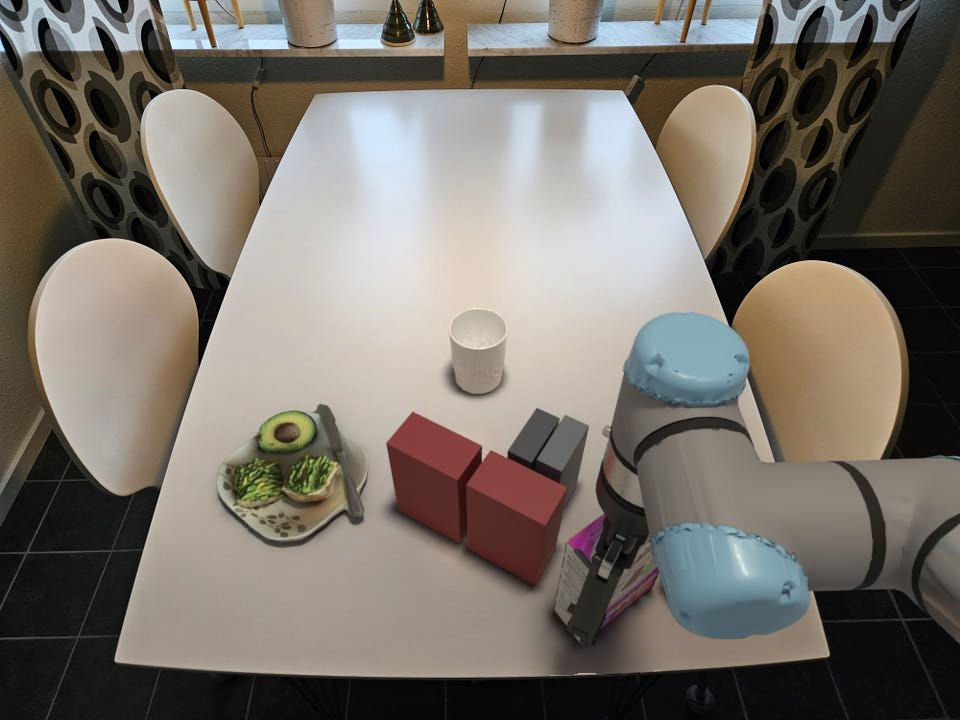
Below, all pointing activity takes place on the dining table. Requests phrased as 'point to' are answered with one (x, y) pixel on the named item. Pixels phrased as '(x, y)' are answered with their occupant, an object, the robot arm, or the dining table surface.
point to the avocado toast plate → (294, 475)
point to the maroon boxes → (476, 496)
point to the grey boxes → (551, 448)
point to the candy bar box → (579, 564)
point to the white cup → (478, 349)
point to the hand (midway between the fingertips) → (607, 583)
